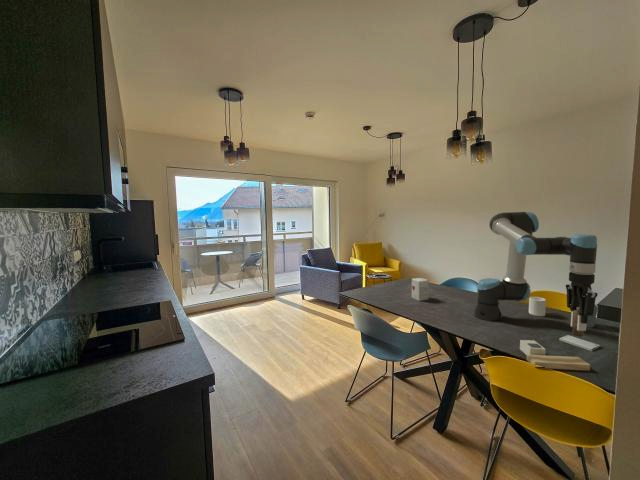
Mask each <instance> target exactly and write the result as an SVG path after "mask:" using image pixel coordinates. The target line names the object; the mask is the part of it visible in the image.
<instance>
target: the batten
mask: <svg viewBox="0 0 640 480" xmlns="http://www.w3.org/2000/svg"><path fill="white" fill-rule="evenodd" d="M526 361H527V362H528V363H529V364H530V363H532V364H535V365H539V366H542V367H545V368H544V369H550V370H551V369H555V370H568V371H569V370H572V371H588V372H590V370H591V364H589V363H588V362H587V361H586V360H584V359H582V358H581V357H580V356H579V357H578V356H565V355H563V356H562V355H546V354H545V355H526ZM532 364H531V365H532Z"/></svg>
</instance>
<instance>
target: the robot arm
mask: <svg viewBox="0 0 640 480" xmlns="http://www.w3.org/2000/svg"><path fill="white" fill-rule="evenodd" d="M539 226H540V222H539V219H538V216H537V215H536V214H535V213H534V212H531V211H513V212H509V211H508V212H499V213H497V214H495V215H493V216H492V217H491V219H490V221H489V229H490V230H491V232H492V233H494V234H495V235H499V236H500V235H501V236H502V237H503V238H505V239H507V241H509V246H508V255H507V266H506V275H504V276H503V278H502V281H500V279H498V278H489V277H487V278H482V279H479V280H478V282H477V286H476V288H477V290H476V291H477V292H476V293H477V295H476V296H477V297H476V299H477V301H476V305H475V307H474V308H473V309H474V310H473V316H474V317H476V318H478V319H481V320H484V321H489V322H499V321H501V320H502V319H503V313H502V310H501V308H500V301H501V302H502V301H504V302H507V301H508V302H524V301H527V300H529V298H530V297H531V286H530V284H529V283H528V282H527V280H526V279H525V272H526V271H525V269H526V262H527V261H526V260H527V256H531V255H532V256H535V255H542V256H543V255H545V256H547V255H550V256H551V255H552V256H553V255H555V256H556V255H559V256H560V255H565V256H569V272H568V281H569V282H570V284H565V288H566V307H567V308H568V309H569V311H570V327H571V328H573V312H574V310H577V307H579V306H580V314H578V323H577V330H579V331H584V332H586V331H587V327H586V324H587V318H588V316H593V312H594V305H595V304H596V298H597V297H598V292H594V291H593V287H592V285H593V284H595V278H596V277H595V273H596V267H597V266H596V262H597V253H598V252H597V251H598V237H597V236H596V235H595V234H594V235H593V234H583V233H582V234H578V233H577V234H572V235H571V237H567V236H555V237H536V236H535V235H533V233H536V232H537V231H538V230H539Z"/></svg>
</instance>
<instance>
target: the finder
mask: <svg viewBox="0 0 640 480" xmlns="http://www.w3.org/2000/svg"><path fill="white" fill-rule="evenodd" d="M519 340H520V341H519V350H520V351H521V352H522V353H524V354H525V355H526V356H527V355H546V348H545V347H544V346H542V345H541V344H540V343H538V342H537V341H536V340H534V339H533V340H528V339H519Z"/></svg>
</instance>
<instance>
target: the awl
mask: <svg viewBox="0 0 640 480" xmlns="http://www.w3.org/2000/svg"><path fill="white" fill-rule="evenodd" d="M578 314H580V307H577V310H574V312H573V327H572V330H571V332H572V333H571V335H573V336H574V337H575V336H576V337H580V338H581V337H582V338H583V337H584V333H585V331H579V330H577V323H578Z"/></svg>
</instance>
